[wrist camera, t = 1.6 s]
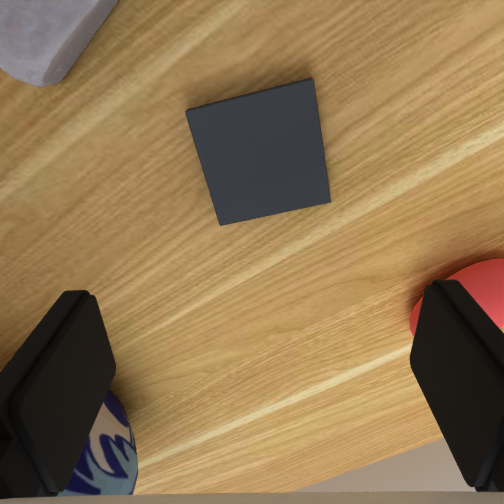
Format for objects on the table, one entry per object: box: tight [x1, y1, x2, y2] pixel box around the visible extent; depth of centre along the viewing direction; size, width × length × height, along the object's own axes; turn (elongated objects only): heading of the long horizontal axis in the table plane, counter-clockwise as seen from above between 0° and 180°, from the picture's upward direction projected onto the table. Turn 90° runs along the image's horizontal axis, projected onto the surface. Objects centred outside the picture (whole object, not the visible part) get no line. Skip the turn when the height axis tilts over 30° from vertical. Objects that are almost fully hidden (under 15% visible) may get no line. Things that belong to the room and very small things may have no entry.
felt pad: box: [185, 78, 331, 226], centre depth 25 cm, size 8×8×1 cm
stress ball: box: [410, 258, 504, 336], centre depth 28 cm, size 5×9×6 cm, turn 121°
